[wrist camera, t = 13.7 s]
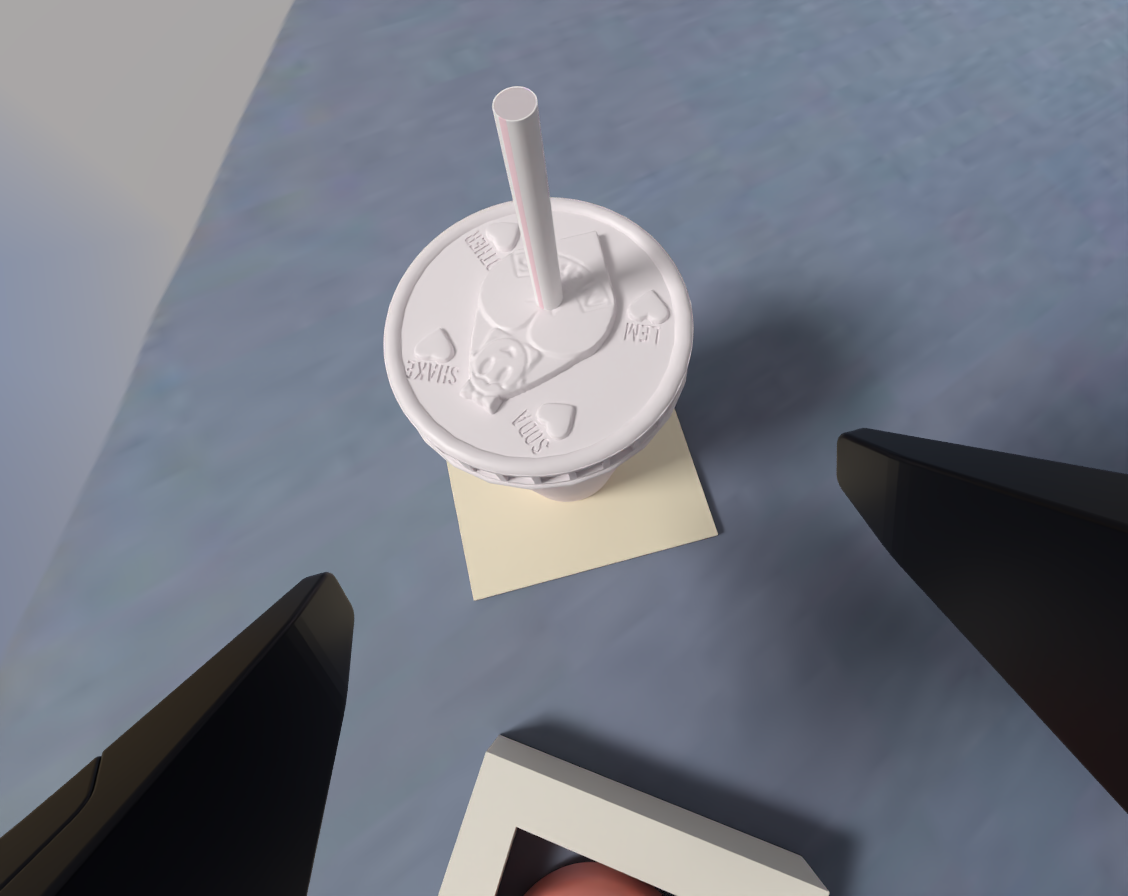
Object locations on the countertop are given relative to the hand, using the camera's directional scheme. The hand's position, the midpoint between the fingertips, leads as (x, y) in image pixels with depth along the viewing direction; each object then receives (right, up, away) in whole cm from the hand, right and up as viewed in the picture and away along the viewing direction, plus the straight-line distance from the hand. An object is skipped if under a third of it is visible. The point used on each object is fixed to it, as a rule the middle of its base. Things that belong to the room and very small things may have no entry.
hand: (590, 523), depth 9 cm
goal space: (0, +1, +11) cm, 11 cm away
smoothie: (0, +1, +11) cm, 11 cm away
